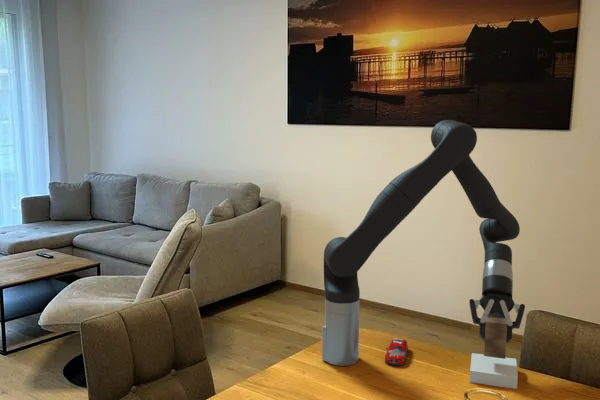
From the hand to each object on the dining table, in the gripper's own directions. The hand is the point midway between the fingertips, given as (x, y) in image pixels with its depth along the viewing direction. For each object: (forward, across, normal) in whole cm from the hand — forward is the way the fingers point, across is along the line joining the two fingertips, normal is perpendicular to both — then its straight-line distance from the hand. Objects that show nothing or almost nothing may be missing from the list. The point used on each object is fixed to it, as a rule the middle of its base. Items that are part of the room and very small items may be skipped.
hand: (495, 340), depth 138 cm
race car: (+4, -25, +11) cm, 28 cm away
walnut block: (+2, 0, +4) cm, 5 cm away
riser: (+6, 0, +8) cm, 10 cm away
